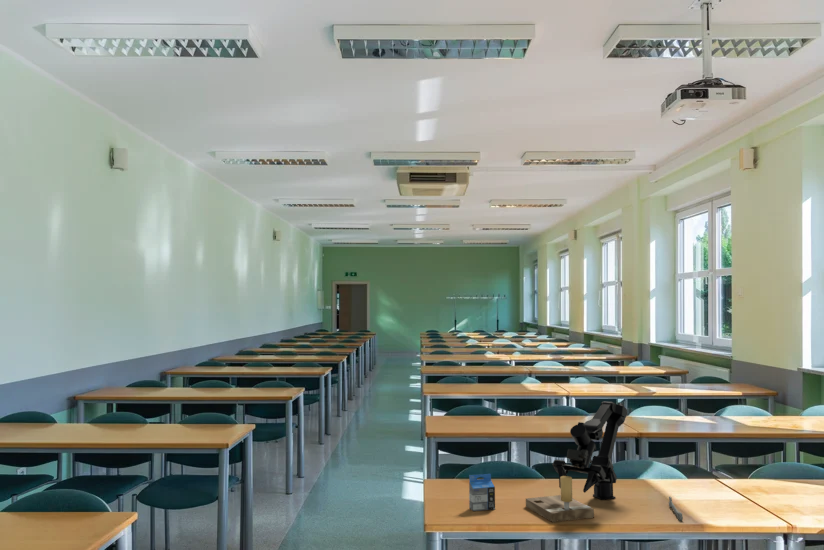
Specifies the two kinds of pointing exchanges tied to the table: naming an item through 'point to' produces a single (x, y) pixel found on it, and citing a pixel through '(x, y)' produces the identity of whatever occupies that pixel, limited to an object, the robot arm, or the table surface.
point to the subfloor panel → (559, 508)
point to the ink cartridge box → (481, 493)
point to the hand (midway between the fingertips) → (572, 489)
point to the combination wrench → (675, 510)
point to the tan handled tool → (566, 490)
